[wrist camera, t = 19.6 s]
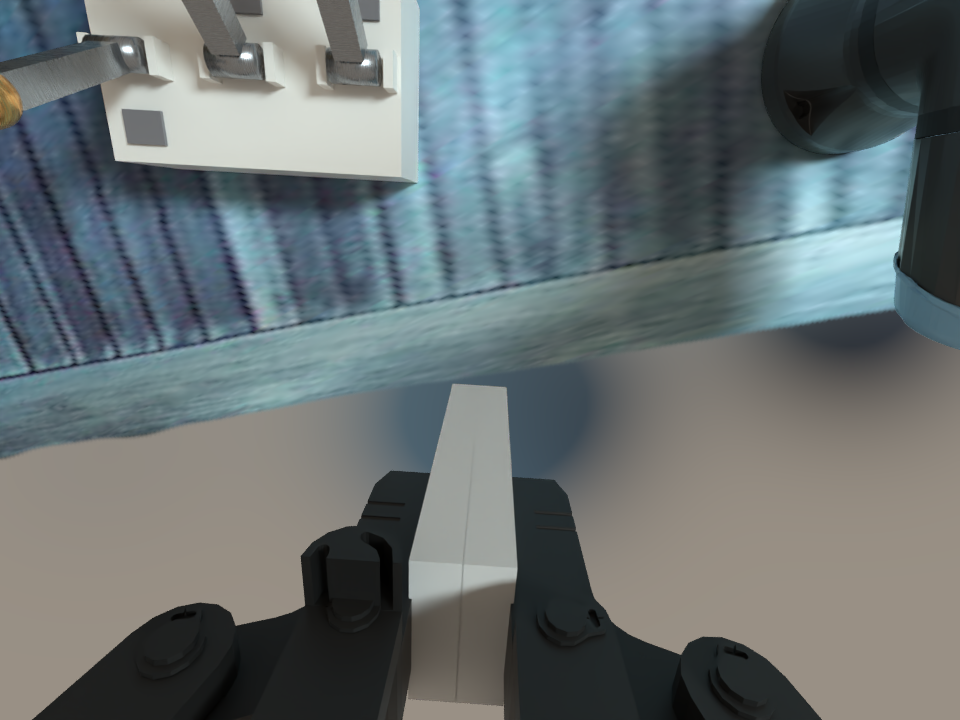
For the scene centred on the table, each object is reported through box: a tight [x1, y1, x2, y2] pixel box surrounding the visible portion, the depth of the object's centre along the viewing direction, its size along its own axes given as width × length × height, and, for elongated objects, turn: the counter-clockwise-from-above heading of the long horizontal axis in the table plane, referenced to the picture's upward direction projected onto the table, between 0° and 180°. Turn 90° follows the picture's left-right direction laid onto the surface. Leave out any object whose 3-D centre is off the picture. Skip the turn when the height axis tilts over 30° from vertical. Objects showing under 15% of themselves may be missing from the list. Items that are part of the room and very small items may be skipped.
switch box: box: [76, 0, 420, 183], centre depth 36 cm, size 24×14×10 cm, turn 87°
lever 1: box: [0, 34, 149, 130], centre depth 27 cm, size 3×3×14 cm
